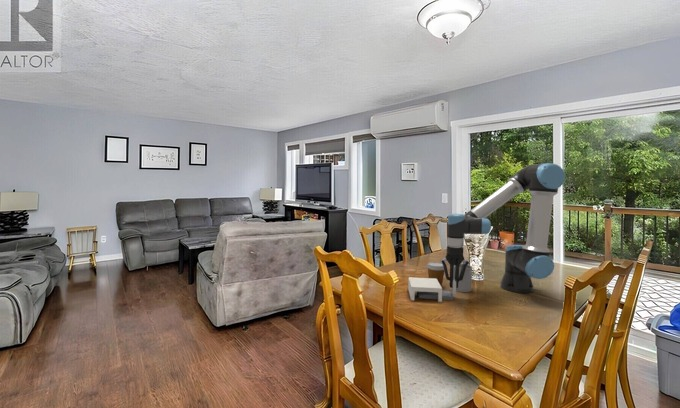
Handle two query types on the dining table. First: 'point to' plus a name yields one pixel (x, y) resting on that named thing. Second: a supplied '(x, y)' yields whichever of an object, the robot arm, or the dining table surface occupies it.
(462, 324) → the dining table surface
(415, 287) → the shelf
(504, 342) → the dining table surface
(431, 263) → the disposable coffee cup
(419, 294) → the tile
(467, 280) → the cup
